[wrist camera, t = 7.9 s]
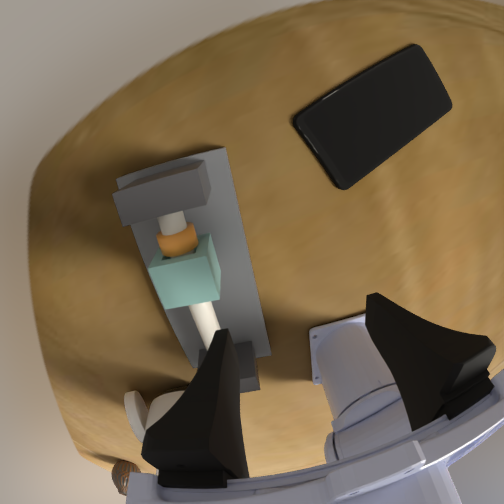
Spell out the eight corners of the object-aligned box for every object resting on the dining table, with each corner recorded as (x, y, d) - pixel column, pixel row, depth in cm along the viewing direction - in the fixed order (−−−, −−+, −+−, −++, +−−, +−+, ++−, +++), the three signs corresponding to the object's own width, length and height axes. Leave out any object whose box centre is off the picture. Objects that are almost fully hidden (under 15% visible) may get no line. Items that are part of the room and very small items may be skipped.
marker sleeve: (220, 270, 19) (219, 299, 16) (173, 280, 19) (165, 309, 16) (210, 232, 18) (206, 255, 15) (160, 243, 18) (147, 268, 15)
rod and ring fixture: (270, 346, 26) (278, 389, 21) (193, 359, 26) (189, 402, 21) (225, 146, 18) (224, 152, 13) (121, 176, 18) (88, 193, 13)
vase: (142, 470, 43) (139, 500, 35) (115, 463, 42) (110, 492, 34) (143, 463, 41) (139, 496, 33) (113, 455, 39) (107, 487, 31)
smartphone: (289, 119, 17) (419, 41, 14) (287, 120, 18) (413, 43, 15) (343, 194, 20) (455, 107, 16) (339, 192, 20) (449, 107, 17)
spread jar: (239, 410, 31) (245, 488, 21) (174, 427, 33) (168, 494, 22) (181, 361, 26) (170, 460, 16) (114, 384, 28) (93, 462, 17)
